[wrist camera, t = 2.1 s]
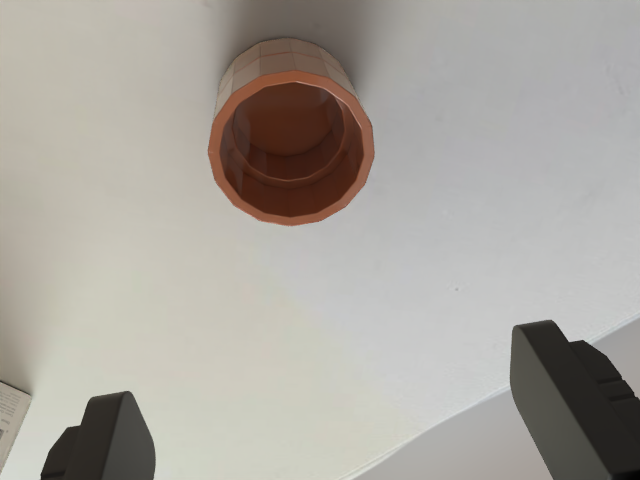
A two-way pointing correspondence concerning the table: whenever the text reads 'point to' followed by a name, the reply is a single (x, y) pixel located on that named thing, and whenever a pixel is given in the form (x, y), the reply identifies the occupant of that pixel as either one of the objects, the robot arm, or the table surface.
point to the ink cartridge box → (11, 418)
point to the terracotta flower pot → (289, 134)
